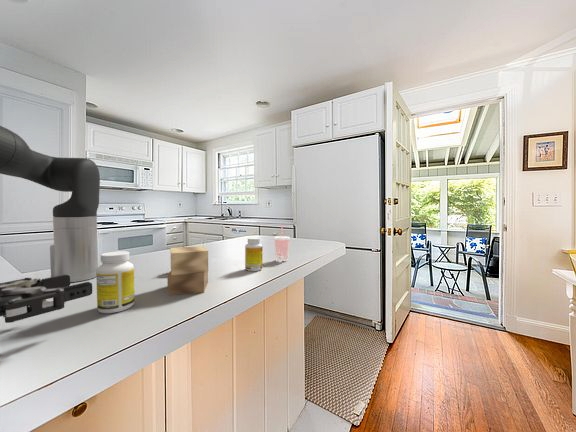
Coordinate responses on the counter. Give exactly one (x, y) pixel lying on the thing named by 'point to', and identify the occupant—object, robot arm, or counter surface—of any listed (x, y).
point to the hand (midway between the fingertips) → (79, 283)
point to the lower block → (187, 283)
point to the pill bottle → (115, 282)
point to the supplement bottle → (253, 254)
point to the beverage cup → (281, 246)
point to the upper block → (189, 260)
